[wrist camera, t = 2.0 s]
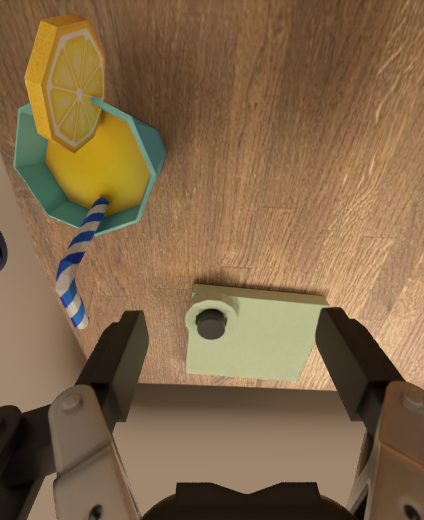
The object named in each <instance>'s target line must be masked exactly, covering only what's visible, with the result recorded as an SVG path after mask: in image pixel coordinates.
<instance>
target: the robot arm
mask: <svg viewBox="0 0 424 520" xmlns="http://www.w3.org/2000/svg"><path fill="white" fill-rule="evenodd" d="M315 341H316V345H317V348H318V350H319V352H320V354H321V356H322V359H323V361H324V363H325V365H326V367H327V369H328V372H329V374H330V376H331V378H332V380H333V383H334V385H335V387H336V389H337V391H338V393H339V395H340V398H341V400H342V402H343V404H344V406H345V409H346V411H347V413H348V415H349V417H350V420H351V421H363V422H364V424H365V426H366V428H367V429H366V431H365V434H364V439H363V444H362V448H361V453H360V457H359V462H358V466H357V471H356V476H355V480H354V484H353V487H352V490H351V493H350V496H349V499H348V502H347V506H346V508H344V507H343V506H342V505H340V504H338V503H337V502H335V501H334V500H332V499H330V498H328V497H325V496H323V495H320V494H319V490H318V487H317V483H316V482H285V483H284V482H281V483H279V484H276V485H273V486H271V487H268V488H265V489H262V490H259V491H257V492H254V493H251V494H243V493H240V492H237V491H234V490H231V489H228V488H225V487H222V486H219V485H217V484H214V483H177V485H176V494H173V495H171V496H169V497H167V498H165V499H163V500H161V501H160V502H159V503H157V504H156V505H154V506H153V507H152V508H151V509H150V510H149V511H147V513H145V514H144V516H143V517H142V514H141V512H140V509H139V506H138V503H137V501H136V498H135V495H134V493H133V490H132V488H131V485H130V482H129V480H128V477H127V474H126V472H125V468H124V466H123V463H122V460H121V457H120V454H119V452H118V449H117V446H116V443H115V440H114V438H113V435H112V433H113V430H114V427H115V424H116V422H126V419H127V416H128V412H129V409H130V406H131V403H132V399H133V396H134V393H135V389H136V386H137V382H138V379H139V376H140V372H141V369H142V366H143V362H144V359H145V356H146V352H147V349H148V343H149V336H148V331H147V326H146V321H145V317H144V313H143V311H142V310H136V311H125V312H124V313H123V315H122V317H121V319H120V321H119V322H114V323H112V324H111V325H110V326H109V327H107V328H106V329H105V330H104V331H103V333H102V335H101V337H100V339H99V341H98V343H97V344H96V346H95V348H94V351H93V352H92V354H91V356H90V357H89V359H88V361H87V363H86V365H85V367H84V369H83V370H82V372H81V374H80V376H79V378H78V380H77V382H76V383H75V385H74V386H73V387H70V388H68V389H66V390H65V391H63V392H62V393H61V394H60V395H59V396H57V398H56V399H55V400H54V401H53V403H52V404H50V405H47V406H44V407H40V408H37V409H34V410H31V411H28V412H24V413H21V411H20V410H19V408H18V407H16V406H13V405H7V406H2V407H0V520H27V517H28V515H29V513H30V510H31V508H32V505H33V504H34V501H35V499H36V497H37V494H38V492H39V490H40V487H41V485H42V483H43V480H44V478H45V476H47V475H50V474H52V473H55V472H57V479H55V480H54V482H53V493H54V494H53V495H54V501H55V510H56V517H57V520H424V390H423V389H421V388H419V387H418V386H416V385H414V384H411V383H408V382H406V381H405V380H404V378H403V377H402V376H401V374H400V373H399V372H398V370H397V369H396V368H395V366H394V365H393V364H392V362H391V361H390V360H389V358H388V357H387V356H386V354H385V353H384V352H383V350H382V349H381V348H379V345H378V343H377V342H376V341H375V339H373V337H372V335H371V334H370V333H369V331H368V330H367V329H366V327H364V326H363V325H362V324H360V323H359V322H358V321H357V320H355V319H349V318H348V316H347V315H346V313H345V312H344V310H343V309H342V308H340V307H324V308H321V310H320V314H319V318H318V323H317V327H316V332H315Z"/></svg>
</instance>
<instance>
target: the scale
mask: <svg viewBox="0 0 424 520" xmlns="http://www.w3.org/2000/svg"><path fill="white" fill-rule="evenodd" d="M324 307H330V305H329V304H328V302H327V300H326V299H325V297H324V296H318V295H307V294H297V293H287V292H276V291H266V290H256V289H245V288H235V287H225V286H214V285H204V284H193V288H192V297H191V301H190V302H189V303H188V304H187V307H186V314H185V325H186V326H187V328H188V329H189V333H188V345H187V357H186V369H185V373H191V374H203V375H215V376H227V377H239V378H251V379H263V380H275V381H287V382H297V381H298V379H299V377H300V374H301V372H302V370H303V367H304V365H305V363H306V360H307V358H308V356H309V353H310V351H311V349H312V346H313V344H314V342H315V332H316V327H317V323H318V318H319V314H320V310H321V308H324ZM207 309H215V310H218V311H220V312H221V313H222V314H223V315H224V318H225V332H224V334H223V336H221V337H220V338H218V339H215V340H208V339H204V338H202V337H201V336H200V335H199V334H198V331H197V326H198V317H199V315H200V313H201V312H203V311H204V310H207Z"/></svg>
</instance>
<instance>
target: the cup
mask: <svg viewBox="0 0 424 520" xmlns="http://www.w3.org/2000/svg"><path fill="white" fill-rule="evenodd" d="M24 79H25V83H26V87H27V92H28V96H29V100H30V103H29V104H27V105H25V106H22V107H20V108H19V109H18V120H17V131H16V142H15V153H14V164H13V166H14V168H15V169H16V171H17V172H18V173H19V175H20V176H21V178H22V179H23V181H24V182H25V184H26V185H27V187H28V188H29V189H30V191H31V192H32V194H33V195H34V197H35V198H36V200H37V201H38V203H39V204H40V205H41V207H42V208H43V210H44V211H45V213H46V214H47V216H49V217H52V218H54V219H57V220H59V221H62V222H64V223H66V224H69V225H71V226H74V227H76V228H79V230H78V232H77V233H76V235H75V237H74V238H73V240H72V242H71V244H70V245H69V247H68V249H67V251H66V252H65V254H64V256H63V258H62V259H61V261H60V264H59V268H58V272H57V278H56V287H55V289H56V291H57V293H58V295H59V297H60V299H61V301H62V303H63V305H64V307H65V309H66V311H67V313H68V315H69V317H70V319H71V320H72V322H73V324H74V326H75V328H77V329H83V328H86V327H87V326H88V325H89V317H88V314H87V312H86V309H85V307H84V304H83V302H82V299H81V296H80V294H79V291H78V289H77V286H76V284H75V274H76V269H77V267H78V265H79V263H80V261H81V259H82V257H83V255H84V253H85V251H86V249H87V247H88V245H89V244H90V242H91V240H92V238H93V236H94V235H96V236H99V235H101V234H104V233H107V232H110V231H113V230H116V229H119V228H122V227H125V226H128V225H131V224H134V223H137V222H140V219H141V217H142V214H143V212H144V209H145V206H146V203H147V201H148V198H149V195H150V192H151V190H152V187H153V185H154V184H155V182H156V180H157V178H158V176H159V174H160V172H161V169H162V166H163V163H164V161H165V158H166V155H167V152H166V149H165V147H164V144H163V142H162V139H161V137H160V134H159V132H158V130H157V129H155V128H153V127H151V126H150V125H148V124H146V123H144V122H142V121H140V120H138V119H136V118H134V117H132V116H130V115H128V114H126V113H124V112H122V111H120V110H118V109H116V108H115V107H113V106H111V105H109V104H107V103H105V102H106V67H105V54H104V52H103V50H102V48H101V46H100V44H99V42H98V40H97V38H96V36H95V34H94V32H93V30H92V28H91V26H90V24H89V22H88V20H87V19H84V18H82V17H80V16H78V15H76V14H68V15H63V16H58V17H53V18H48V19H43V20H41V22H40V25H39V29H38V32H37V36H36V39H35V43H34V46H33V50H32V53H31V57H30V60H29V64H28V67H27V71H26V74H25V78H24Z"/></svg>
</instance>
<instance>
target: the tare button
mask: <svg viewBox="0 0 424 520" xmlns="http://www.w3.org/2000/svg"><path fill="white" fill-rule="evenodd" d="M197 331H198V334H199V335H200V336H201V337H202V338H204V339H208V340H215V339H218V338H220V337H221V336H223V334H224V332H225V318H224V315H223V314H222V313H221V312H220V311H218V310H215V309H207V310H204V311H203V312H201V313H200V315H199V317H198V326H197Z"/></svg>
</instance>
